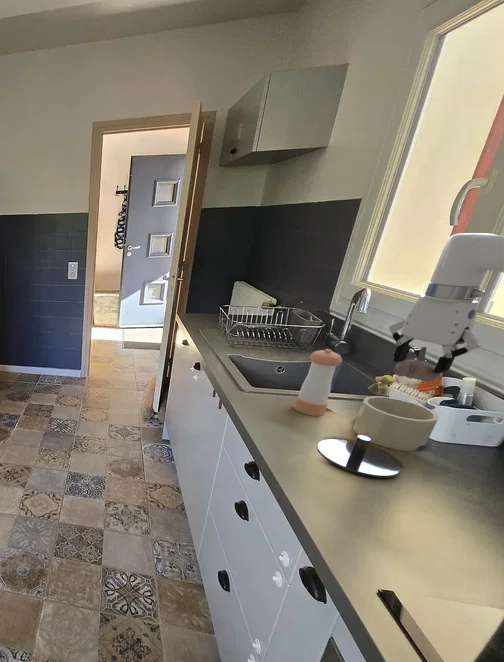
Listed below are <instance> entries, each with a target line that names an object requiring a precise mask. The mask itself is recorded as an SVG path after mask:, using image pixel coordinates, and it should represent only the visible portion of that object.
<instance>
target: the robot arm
mask: <svg viewBox="0 0 504 662" xmlns="http://www.w3.org/2000/svg"><path fill="white" fill-rule="evenodd" d="M488 271H494V272H497V273H504V235H498V234H495V233H478V232H477V233H475V232H474V233H473V232H465V233H462V232H461V233H456V234H453V235H450V236H449V237H448V238H447V239H446V241H445V243H444V246H443V249H442V251H441V254H440V256H439V258H438V262H437V264H436V266H435V269H434V271H433V274H432V275H431V278H430V281H429V283H428V286H427V288H426V290H425V292H424V294H423V295H420V296H419V297H418V299H417V300H416V301H415V303H414V304H413V306H412V308H411V309H410V311H409V313H408V315H407V317H406V318H405V320H402V321H400V322H397V323H394V324H391V325H389V327H388V329H389V331H390V333H391V334H392V335H391V336H392V339H394V341H395V345H396V348H395V352H394V353H393V357H394V358H393V360H392V362H394V363H399V362H401V361H404V360H407V357H408V355H409V352H410V350H411V345H410V344H411V343H412V342H413V341H415V340H418V341H423V342H426V343H432V344H436V345H441V347H442V352H443V355H442V356H440V357H439V358H438V360H437V363H436V365H435V369H434V373H437V374H438V373H440V374H442V373H446V372H448V371H449V370H450V369H451V367H452V365H453V363H454V360H455V358H457V357H459V356H462V355H465V354H467V353H470V352H472V351H474V350H477V349H479V348H481V347H482V346H483V344H482V342H481V341H480V340H479V339H477V337H475V335H474V334H473V333H472V331H473V328H474V325H475V321H476V318H477V314H478V310H479V301H478V300H476V299H477V298H484V297H485V296H486V295H487V291H486V290H482V289H481V288H482V286H481V285H482V283H483V281H484V279H485V276H486V274H487V273H488ZM464 344H466V345H464ZM458 345H464V346H463V347H460V348H459V346H458Z"/></svg>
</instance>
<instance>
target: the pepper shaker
mask: <svg viewBox="0 0 504 662" xmlns="http://www.w3.org/2000/svg"><path fill="white" fill-rule="evenodd" d="M342 358H343V357H342V356H341V355H340V354H339V353H336V352H334V351H333V350H332V349H330V348H326V349H321V350H320V349H319V350H315V351H313V352H312V353H311V354H310V356H309V360H310V361H311V364H310V366H309V370H308V373H307V376H306V377H305V379H304V380H303V382H302V385H301V387H300V390H299V393H298V394H299V395H297V396H296V398H295V401H294V405H293V409H294V410H295V411H297V412H299V413H301V414H304V415H308V416H312V417H322V416H324V415H325V413H326V410H327V407H328V399H329V396H330V394H331V391H332V382H333V381H332V380H333V378H334V375H335V371H336V368H337V367H338V366H340V365H341V363H342V362H343V359H342Z"/></svg>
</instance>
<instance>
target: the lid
mask: <svg viewBox="0 0 504 662" xmlns="http://www.w3.org/2000/svg"><path fill="white" fill-rule="evenodd" d="M370 441H371V439H370V438H369V437H366V436H363V435H358V434H357V436H356V439H355V441H352V440H347V439H346V440H345V439H338V438H337V439H336V438H329V439H328V438H327V439H323V440H320V441H319V442H318V443H317V446H316V450H317V453H318V454H319V455H320V456H321V457H322V458H324V460H326V461H327V462H329V463H331V464H332V465H335V466H336V467H339V468H341V469H343V470H346V471H348V472H352V473H355V474H357V475H362V476H365V477H372V478H379V479H387V478H393V477H396V476H398V475H399V474H400V471H401V467H400V465H399V463H398V462H397V461H396V460H395V459H394V458H392V457H391V456H389V455H388V454H386V453H384V452H383V451H381V450H379V449H376V448H374V447H371V446H370V443H371V442H370Z"/></svg>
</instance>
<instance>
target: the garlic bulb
mask: <svg viewBox="0 0 504 662" xmlns="http://www.w3.org/2000/svg"><path fill="white" fill-rule="evenodd" d="M426 353H427V346H422V347H420V349H419V354H418V357H417V358H416V359H405V360H404V361H399V362H396V365H395V367H394V368H393V373H394V374H395V375H396V376H397V377H404V378H405V377H406V378H407V379H409V380H412V379H414V380H417V381H422V382H426V383H429V382H431V383H432V382H434V381H436V380H437V379H439V378H440V377H441V373H438V374H437V373H434V369H435V367H436V365H432V364H430V363H429V362H428V361H426Z"/></svg>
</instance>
